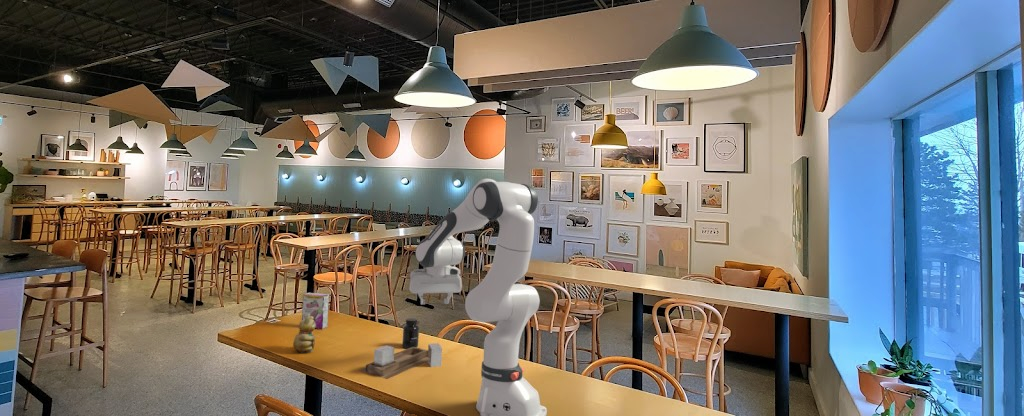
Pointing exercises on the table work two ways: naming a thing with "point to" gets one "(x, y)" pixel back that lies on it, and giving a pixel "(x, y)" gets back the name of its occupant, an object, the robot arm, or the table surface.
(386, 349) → the block
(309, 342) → the decorative figurine
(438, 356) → the block
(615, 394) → the table surface
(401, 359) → the brown wooden tray
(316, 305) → the candy bar box
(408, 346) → the supplement bottle
